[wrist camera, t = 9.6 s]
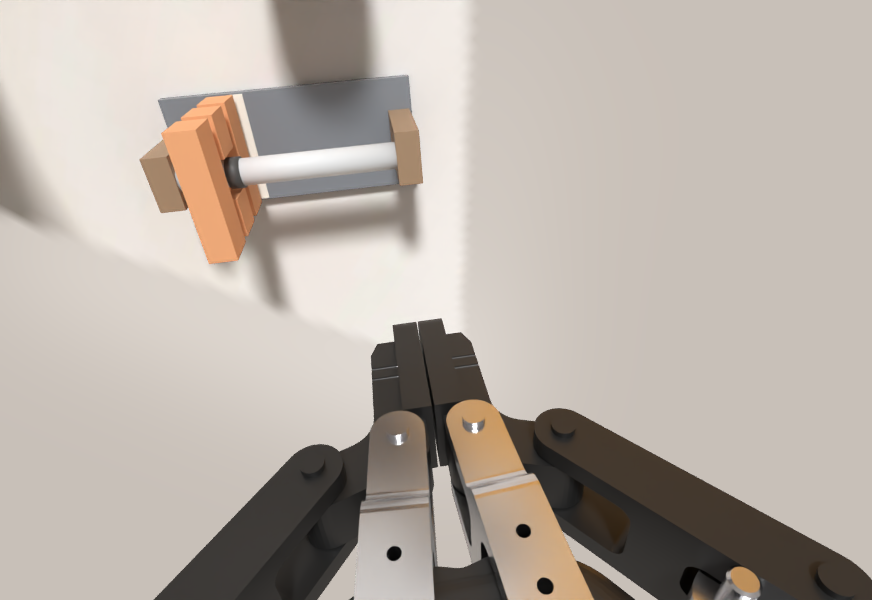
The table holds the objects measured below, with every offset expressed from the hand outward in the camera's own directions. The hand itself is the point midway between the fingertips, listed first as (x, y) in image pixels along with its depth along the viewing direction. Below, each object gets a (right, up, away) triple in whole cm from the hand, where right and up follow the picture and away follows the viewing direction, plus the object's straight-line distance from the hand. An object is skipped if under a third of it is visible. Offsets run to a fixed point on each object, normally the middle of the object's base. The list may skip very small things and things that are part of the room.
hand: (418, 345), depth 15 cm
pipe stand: (-11, +15, +28) cm, 34 cm away
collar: (-16, +14, +26) cm, 34 cm away
